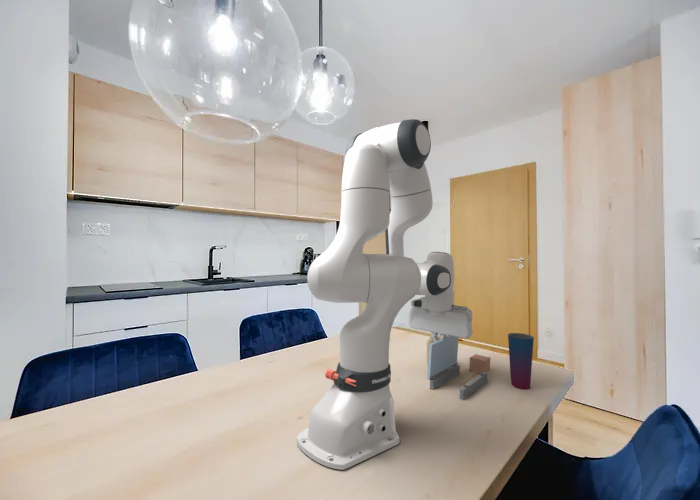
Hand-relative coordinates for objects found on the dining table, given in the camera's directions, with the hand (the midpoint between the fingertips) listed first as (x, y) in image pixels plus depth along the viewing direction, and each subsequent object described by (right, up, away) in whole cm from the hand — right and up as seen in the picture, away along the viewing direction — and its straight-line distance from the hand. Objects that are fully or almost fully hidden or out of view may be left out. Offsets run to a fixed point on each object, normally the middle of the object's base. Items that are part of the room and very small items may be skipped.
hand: (438, 347), depth 100 cm
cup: (+23, -10, -5) cm, 26 cm away
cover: (+2, -2, -2) cm, 3 cm away
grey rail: (+5, -10, -5) cm, 12 cm away
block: (+16, -10, +7) cm, 20 cm away
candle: (+2, -10, +12) cm, 16 cm away
